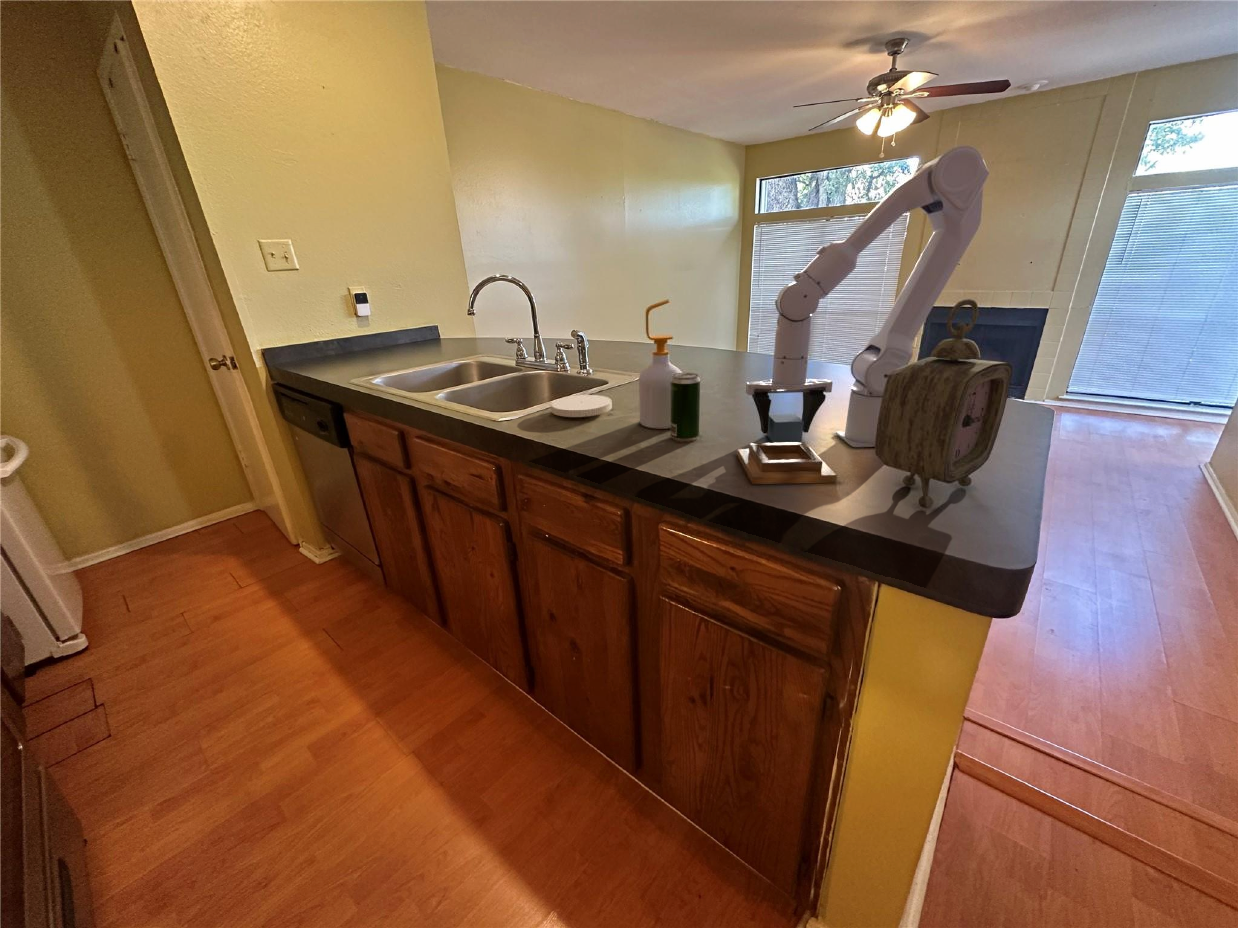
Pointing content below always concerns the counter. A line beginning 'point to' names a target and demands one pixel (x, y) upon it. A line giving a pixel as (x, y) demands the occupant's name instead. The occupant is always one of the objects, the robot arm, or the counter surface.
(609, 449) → the counter surface
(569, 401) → the plastic lid
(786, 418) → the dark gray block
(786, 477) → the base pad
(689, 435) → the beer can
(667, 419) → the soap bottle
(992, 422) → the tabletop clock
